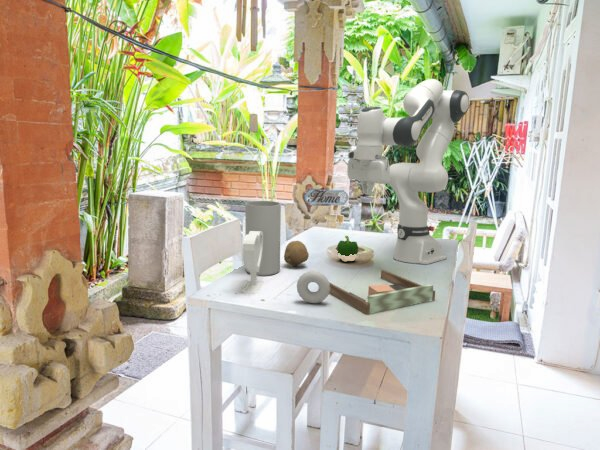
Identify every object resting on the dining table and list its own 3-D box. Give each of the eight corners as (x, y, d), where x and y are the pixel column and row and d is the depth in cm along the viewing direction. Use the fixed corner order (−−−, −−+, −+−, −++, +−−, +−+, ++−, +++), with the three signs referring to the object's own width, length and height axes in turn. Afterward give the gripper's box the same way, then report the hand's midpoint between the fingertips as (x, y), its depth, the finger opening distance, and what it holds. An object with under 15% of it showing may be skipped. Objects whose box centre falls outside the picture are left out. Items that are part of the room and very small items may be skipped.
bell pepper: (356, 264, 179) (357, 239, 177) (335, 263, 181) (336, 238, 179) (358, 259, 187) (359, 235, 185) (338, 257, 189) (339, 234, 187)
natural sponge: (312, 265, 177) (313, 240, 175) (300, 271, 169) (301, 244, 167) (292, 262, 181) (292, 237, 179) (280, 267, 174) (280, 241, 172)
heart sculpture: (256, 295, 143) (256, 238, 140) (240, 294, 144) (240, 238, 140) (265, 279, 159) (265, 228, 155) (250, 279, 159) (250, 228, 156)
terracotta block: (385, 296, 145) (386, 284, 145) (394, 302, 140) (395, 290, 139) (368, 297, 144) (368, 285, 143) (376, 304, 138) (377, 291, 137)
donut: (295, 303, 137) (296, 271, 135) (297, 299, 140) (297, 268, 138) (328, 306, 135) (330, 273, 133) (330, 302, 139) (331, 270, 137)
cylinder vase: (281, 275, 164) (282, 206, 159) (246, 276, 161) (246, 206, 157) (277, 265, 176) (278, 200, 171) (244, 266, 174) (244, 201, 169)
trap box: (382, 277, 163) (383, 264, 162) (434, 300, 142) (435, 284, 141) (320, 288, 151) (320, 273, 150) (366, 314, 130) (367, 297, 129)
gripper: (395, 156, 153) (393, 197, 155) (359, 153, 170) (357, 190, 173) (380, 156, 150) (378, 198, 152) (345, 153, 167) (343, 191, 170)
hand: (367, 194), depth 163 cm, fingers closed
